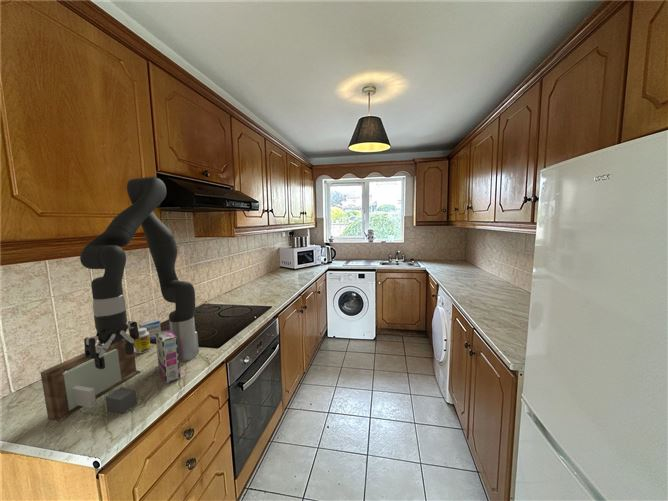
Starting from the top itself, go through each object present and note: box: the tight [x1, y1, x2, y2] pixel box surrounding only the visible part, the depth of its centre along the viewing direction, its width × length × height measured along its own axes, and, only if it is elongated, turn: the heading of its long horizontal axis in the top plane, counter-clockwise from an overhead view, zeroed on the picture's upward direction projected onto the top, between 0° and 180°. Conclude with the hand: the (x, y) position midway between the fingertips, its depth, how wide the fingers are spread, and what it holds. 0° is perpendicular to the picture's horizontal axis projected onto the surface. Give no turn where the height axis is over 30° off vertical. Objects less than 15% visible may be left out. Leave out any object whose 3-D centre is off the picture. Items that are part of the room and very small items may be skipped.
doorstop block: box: [104, 386, 138, 415], centre depth 85 cm, size 5×6×5 cm
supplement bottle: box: [134, 328, 152, 354], centre depth 122 cm, size 6×6×10 cm
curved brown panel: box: [40, 334, 141, 422], centre depth 92 cm, size 26×4×15 cm, turn 165°
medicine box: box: [138, 318, 162, 342], centre depth 135 cm, size 8×4×9 cm, turn 143°
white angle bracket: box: [63, 349, 121, 411], centre depth 89 cm, size 16×8×12 cm, turn 165°
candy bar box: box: [155, 328, 181, 384], centre depth 102 cm, size 11×5×16 cm, turn 45°
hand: (116, 361), depth 84 cm, fingers open, 8 cm apart
